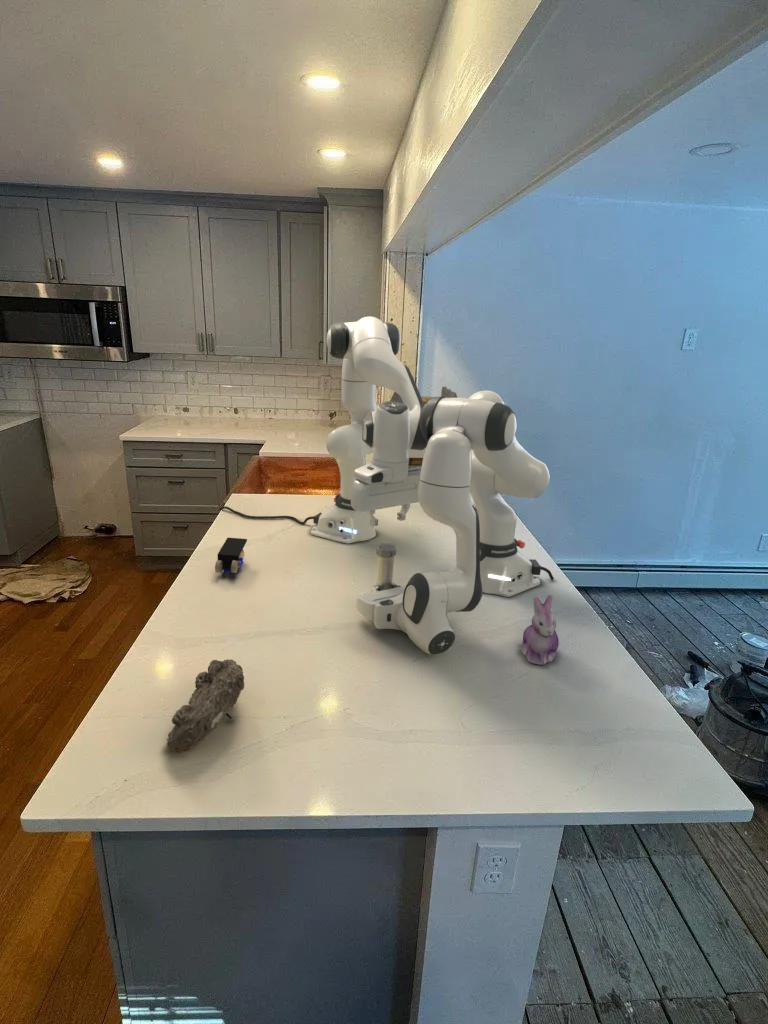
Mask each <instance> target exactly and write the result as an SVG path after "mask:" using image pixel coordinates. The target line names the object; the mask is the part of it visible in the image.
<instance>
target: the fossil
mask: <svg viewBox="0 0 768 1024" xmlns="http://www.w3.org/2000/svg"><path fill="white" fill-rule="evenodd" d="M243 670H244V669H243V667H242V665H240V664H237V662H236V661H235V660H234V659H232V658H231V659H227V658H226V659H224V660H223V661H222V660H217V659H212V660H211V661H210V663H209V665H208V666H207V671H201V672H199V673H198V674H197V675H196V676H195V680H194V684H195V685H194V687H195V689H194V690H193V693H192V694H191V697H190V698H189V700H188V704H184V705H182V706H181V707H180V709H177V710H176V711H175V713H174V715H173V716H172V718H171V723H172V724H173V727H172V730H171V731H170V732H168V734H167V738H166V741H167V742H166V745H167V749H168V750H169V751H173V752H174V753H176V754H178V753H182V752H188V751H189V752H192V751H193V750H195V748H196V747H197V746H199V744H200V743H201V742H203V741H204V740H205V739H206V738H207V737H208V736H209V735H210V734H211V733H212V732H214V730H215V729H217V727H218V726H219V724H220V722H221V721H222V720H223V719H224V718H225V716H226V717H227V719H229V720H233V717H232V715H230V714H229V710H230V709H231V708H234V706H235V704H236V703H237V702H238V699H239V697H240V695H241V693H242V691H243V690H245V689H244V688H245V675H244V671H243Z"/></svg>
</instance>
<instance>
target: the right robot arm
mask: <svg viewBox="0 0 768 1024" xmlns="http://www.w3.org/2000/svg"><path fill="white" fill-rule="evenodd" d="M433 397H434V398H431V399H429V400H428V401H427V402H426V403H425V405H424V406H423V408H422V411H421V414H420V429H421V432H422V434H423V436H424V438H425V439H426V441H427V447H426V450H425V454H424V458H423V462H422V466H420V468H421V469H420V470H421V473H420V481H419V489H418V499H419V502H418V504H419V506H420V508H421V509H422V511H423V512H424V513H425V514H426V515H427V517H429V518H431V519H432V520H434V521H435V522H438V523H440V524H443V525H445V526H447V527H450V528H451V529H452V530H453V532H454V534H455V538H456V539H455V540H456V541H455V545H456V546H455V548H456V549H455V551H456V556H455V557H456V565H455V566H454V567H453V568H452V569H450V570H439V571H435V570H434V571H425V572H424V571H423V572H416V573H414V574H413V575H412V576H411V577H410V578H409V580H408V581H407V583H406V585H403V584H400V583H397V582H396V581H393V585H392V589H388V590H383V591H379V587H378V586H377V584H376V585H372V586H371V589H370V592H368V593H363V594H359V595H358V596H357V597H356V609H357V611H358V612H359V614H361V615H362V616H363V617H364V619H366V620H368V622H372V623H373V625H374V627H375V628H376V629H377V630H397V631H402V632H403V633H405V634H407V637H408V638H409V640H410V641H412V643H413V644H415V646H416V647H417V648H419V649H420V650H422V651H423V652H424V653H426V654H428V655H431V656H435V655H441V654H443V653H446V652H447V651H448V650H450V649H451V647H453V645H454V643H455V641H456V633H455V630H453V627H452V626H450V623H449V620H448V617H447V613H454V612H455V613H464V612H465V613H468V612H472V611H474V610H475V609H476V608H477V607H478V606H479V604H480V603H481V600H482V597H483V594H490V595H491V594H492V595H498V596H501V597H505V598H511V597H512V596H515V595H518V594H520V593H523V592H525V591H528V590H530V589H532V588H535V587H538V586H540V585H541V580H540V578H539V577H538V576H541V571H543V572H546V573H547V574H548V577H549V579H550V580H551V581H554V579H555V577H554V576H553V574H552V572H551V570H550V569H548V568H546V567H544V566H542V565H540V563H539V562H538V561H537V559H530V558H528V557H527V556H525V555H524V554H523V553H521V552H520V551H519V550H518V548H520V549H524V548H525V547H526V542H525V541H522V540H521V539H518V540H517V539H516V538H515V535H516V527H517V520H518V518H517V514H516V512H515V510H514V509H513V508H512V506H510V505H509V504H508V503H506V502H505V501H504V498H503V497H502V495H507V496H510V497H515V498H523V499H524V498H525V499H526V498H527V499H533V498H534V499H537V498H539V497H540V496H542V495H543V494H544V493H545V492H546V491H547V489H548V487H549V484H550V480H551V479H550V478H551V475H550V471H549V469H548V466H547V464H546V463H545V462H543V461H541V460H539V459H537V458H535V457H534V456H532V455H531V454H530V453H529V452H528V451H527V450H526V449H525V448H524V447H523V446H522V445H521V444H520V443H519V441H518V440H517V437H516V432H517V415H516V412H515V410H514V409H513V408H512V407H511V406H510V405H507V404H505V402H504V401H503V399H502V397H501V396H500V395H499V394H498V393H496V392H495V391H492V390H486V389H485V390H478V391H477V392H474V393H473V394H471V395H470V396H469V397H468V398H467V397H457V398H447V397H445V396H442V397H441V396H433ZM471 498H472V500H473V503H472V500H471ZM473 504H474V505H473Z"/></svg>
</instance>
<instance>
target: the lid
mask: <svg viewBox="0 0 768 1024" xmlns="http://www.w3.org/2000/svg"><path fill="white" fill-rule="evenodd" d="M376 555H377V557H378V556H380V557H383V558H391V557H394V558H395V556H396V555H397V546H396V545H395V544H392V543H388V542H383V543H379V544H377V546H376Z"/></svg>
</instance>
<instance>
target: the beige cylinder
mask: <svg viewBox="0 0 768 1024" xmlns="http://www.w3.org/2000/svg"><path fill="white" fill-rule="evenodd" d="M394 563H395V556H394V557H391V558H383V557H380V556H378V555H377V571H376V572H377V573H376V576H377V577H376V585H377V586H378V587H379V591H383V590H388V589H392V585H393V582H394Z"/></svg>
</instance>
